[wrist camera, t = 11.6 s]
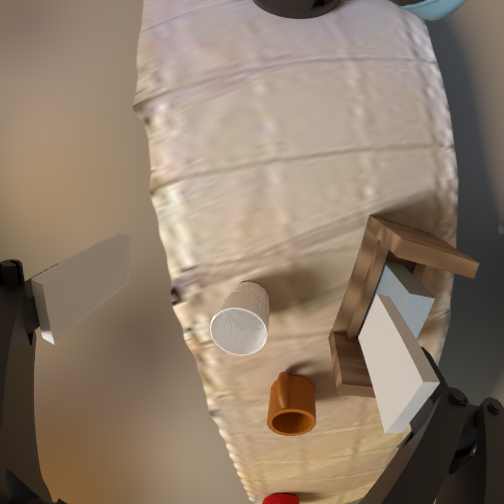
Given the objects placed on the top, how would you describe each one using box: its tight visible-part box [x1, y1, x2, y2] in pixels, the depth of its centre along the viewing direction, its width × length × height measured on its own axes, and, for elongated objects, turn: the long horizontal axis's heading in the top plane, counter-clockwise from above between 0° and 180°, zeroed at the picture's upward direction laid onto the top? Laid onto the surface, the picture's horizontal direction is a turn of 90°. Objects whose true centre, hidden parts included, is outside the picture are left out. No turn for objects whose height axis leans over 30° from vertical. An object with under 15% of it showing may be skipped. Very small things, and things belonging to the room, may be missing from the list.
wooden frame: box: [329, 215, 479, 398], centre depth 36 cm, size 22×12×14 cm, turn 169°
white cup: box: [210, 281, 269, 356], centre depth 41 cm, size 8×8×10 cm
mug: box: [267, 372, 316, 436], centre depth 47 cm, size 9×12×9 cm
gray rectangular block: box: [364, 261, 435, 339], centre depth 36 cm, size 10×4×12 cm, turn 170°
